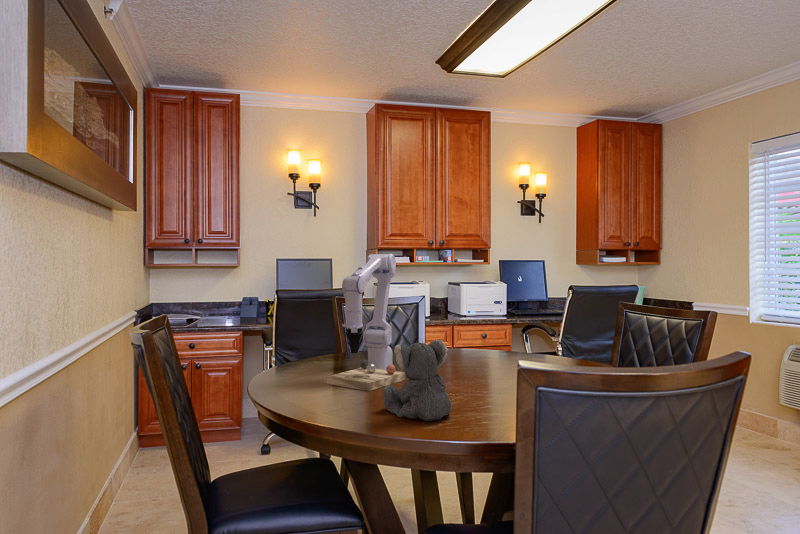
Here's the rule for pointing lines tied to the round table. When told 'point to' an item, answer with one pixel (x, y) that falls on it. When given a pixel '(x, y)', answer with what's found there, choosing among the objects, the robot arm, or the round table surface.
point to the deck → (365, 379)
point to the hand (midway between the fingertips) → (354, 351)
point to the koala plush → (419, 383)
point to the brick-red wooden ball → (390, 369)
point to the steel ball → (371, 368)
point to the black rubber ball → (364, 364)
